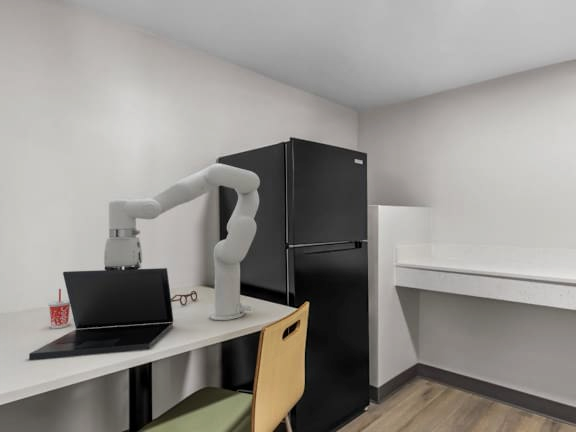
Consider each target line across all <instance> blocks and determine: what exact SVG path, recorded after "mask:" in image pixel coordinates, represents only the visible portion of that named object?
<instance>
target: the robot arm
mask: <svg viewBox="0 0 576 432" xmlns="http://www.w3.org/2000/svg"><path fill="white" fill-rule="evenodd" d="M260 184H261V180H260V177H259V176H258V174H257V173H255V172H254V171H251V170H247V169H244V168H239V167H235V166H233V165H228V164H224V163H220V162H219V163H213V164H211V165H209V166H207V167H205V168H203V169H201V170H199V171H197V172H195V173H192V174H190V175H189V176H187V177H184V178H182V179H180V180H178V181H176V182H175V183H173V184H172V185H170V186H169V187H167V188H165V189H163V190H161V191H159V192H157V193H155V194H153V195H151V196H149V197H147V198H140V199H131V198H112V199H110V200H109V201H108V238H106V242H105V245H104V251H103V264H104V270H127V269H142V263H143V251H142V245H141V240H140V237H137V236H138V235H141V230H138V229H137V219H138V220H139V219H140V220H154V219H156V218H158V217H159V216H160V215H162V214H164V213H166V212H168V211H170V210H171V209H174V208H176V207H178V206H180V205H183V204H187V203H189V202H191V201H194V200H196V199H197V198H199V197H201V196H203V195H205V194H207V193H208V192H211V191H213V190H215V189H217V188H218V187H220V186H222V187H225V188H229V189H234V191H235V192H236V194H237V202H236V204H235V208H234V209H233V212H232V214H231V216H230V218H229V220H228V222H227V224H226V231H227V235H226V238H225V239H222V240H219V241H218V242H217V243H216V244H215V246H214V248H213V264H214V311H213V312H212V313H211V314H210V315H209V316H210V319H211V320H213V321H229V320H235V319H239V318H241V317H243V316H244V315H245V312H252V305H244V304H242V302H241V264H240V263H241V262H242V261H243V260H244V259H245V258H246V256H247V254H248V252H249V249H250V247H251V245H252V242H253V241H254V239H255V236H256V233H257V223H256V221H255V217H256V215H257V212H258V209H259V205H260V196H259V192H258V188H259V187H260Z"/></svg>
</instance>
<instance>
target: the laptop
mask: <svg viewBox="0 0 576 432" xmlns="http://www.w3.org/2000/svg"><path fill="white" fill-rule="evenodd" d="M173 328H174V322H168V323H154V324H140V325H126V326H112V327H98V328H84V329H76V328H75V329H74V330H72V331H70V332H68V333H66V334H64V335H62V336H60V337H58V338H57V339H54V340H53V341H50V342H49V343H47V344H45V345H43V346H41V347H40V348H38V349H36V350H34V351H31V352H29V354H28V360H29V361H30V360H31V361H32V360H44V359H45V360H46V359H57V358H65V357H66V358H67V357H77V356H89V355H100V354H111V353H122V352H123V353H124V352H134V351H144V350H147V351H148V350H150V349H151V348H153V347H154V345H156V344H157V343H158V342H159V341H160V340H161V339H162V338H163V337H164V336H165V335H166V334H167V333H169V332H170V331H171V330H172V329H173Z"/></svg>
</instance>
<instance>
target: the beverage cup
mask: <svg viewBox="0 0 576 432" xmlns="http://www.w3.org/2000/svg"><path fill="white" fill-rule="evenodd" d="M61 298H62V289H61V288H59V289H58V300H57V301H52V302H49V303H48V307H49V316H50V317H49V319H50V328H51V329H53V330H54V329H62V328H66V327H68V326H69V318H70V309H71V306H70V301H69V300H62V299H61Z"/></svg>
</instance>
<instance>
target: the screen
mask: <svg viewBox="0 0 576 432" xmlns="http://www.w3.org/2000/svg"><path fill="white" fill-rule="evenodd" d="M62 275H63V279H64V284H65V288H66V293H67V297H68V301H70V310H71V314H72V318H73V319H72V320H73V322H74V327H75V330H76V329H89V328H103V327H117V326H131V325H145V324H159V323H174V322H175V321H174V313H173V306H172V305H173V304H172V302H171V299H172V297H171V289H170V282H169V281H170V279H169V273H168V268H167V267H160V268H156V267H155V268H139V269H127V270H124V269H123V270H105V269H102V270H101V269H99V270H98V269H97V270H74V271H63V272H62Z"/></svg>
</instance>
